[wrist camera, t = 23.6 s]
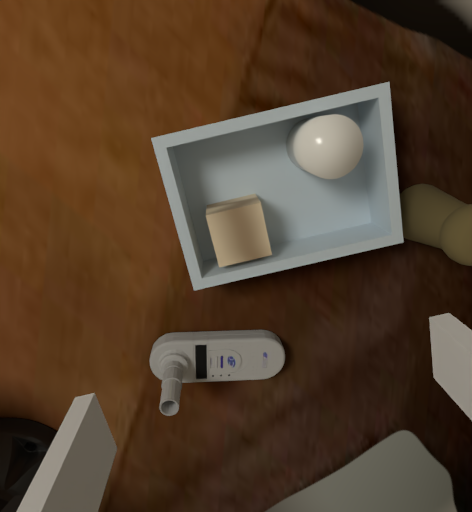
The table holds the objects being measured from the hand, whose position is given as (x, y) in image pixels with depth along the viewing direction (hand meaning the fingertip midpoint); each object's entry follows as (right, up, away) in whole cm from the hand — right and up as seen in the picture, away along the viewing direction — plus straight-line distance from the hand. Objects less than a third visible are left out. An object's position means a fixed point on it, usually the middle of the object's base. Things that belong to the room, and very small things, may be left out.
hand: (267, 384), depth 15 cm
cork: (+18, +10, +26) cm, 33 cm away
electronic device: (-3, -6, +30) cm, 31 cm away
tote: (+3, +12, +24) cm, 27 cm away
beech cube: (-1, +8, +25) cm, 26 cm away
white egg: (+6, +16, +23) cm, 28 cm away
